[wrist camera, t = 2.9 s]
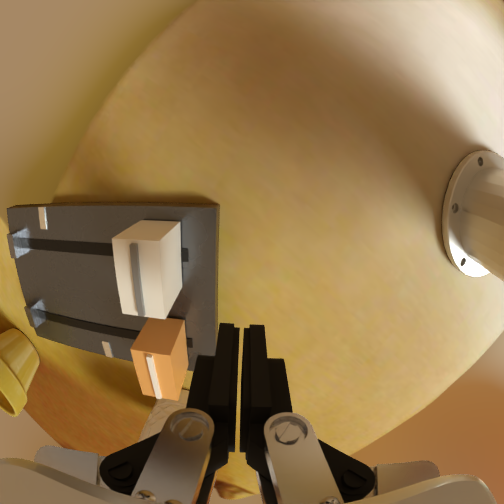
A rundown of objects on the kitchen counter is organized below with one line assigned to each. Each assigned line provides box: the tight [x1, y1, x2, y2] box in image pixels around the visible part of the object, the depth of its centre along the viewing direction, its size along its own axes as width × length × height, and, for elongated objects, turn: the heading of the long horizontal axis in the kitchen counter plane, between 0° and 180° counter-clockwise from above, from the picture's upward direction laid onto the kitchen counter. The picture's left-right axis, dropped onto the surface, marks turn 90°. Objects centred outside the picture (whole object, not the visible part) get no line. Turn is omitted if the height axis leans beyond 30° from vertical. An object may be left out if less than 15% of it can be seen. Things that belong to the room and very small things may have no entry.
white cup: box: [138, 389, 189, 442], centre depth 23 cm, size 8×8×10 cm
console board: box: [7, 202, 220, 371], centre depth 21 cm, size 22×15×3 cm
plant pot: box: [0, 328, 40, 417], centre depth 22 cm, size 10×10×10 cm
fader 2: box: [130, 317, 189, 401], centre depth 20 cm, size 3×5×5 cm, turn 177°
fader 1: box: [112, 220, 182, 319], centre depth 17 cm, size 3×5×5 cm, turn 176°
